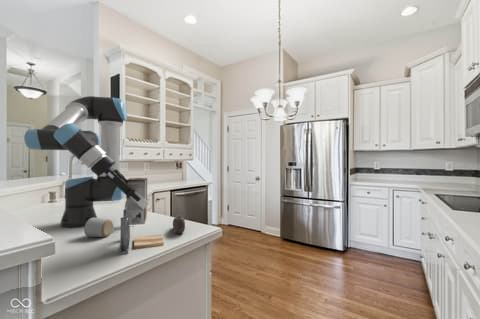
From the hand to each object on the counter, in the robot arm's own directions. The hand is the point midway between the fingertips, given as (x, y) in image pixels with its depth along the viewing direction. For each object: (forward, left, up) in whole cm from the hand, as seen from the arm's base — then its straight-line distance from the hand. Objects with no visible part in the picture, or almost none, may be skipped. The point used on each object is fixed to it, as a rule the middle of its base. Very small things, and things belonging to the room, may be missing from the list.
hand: (146, 203), depth 87 cm
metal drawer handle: (-1, -7, -15) cm, 17 cm away
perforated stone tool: (-12, +14, -15) cm, 24 cm away
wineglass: (-30, -6, -15) cm, 34 cm away
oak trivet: (-1, +1, -15) cm, 15 cm away
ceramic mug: (-19, -17, -15) cm, 30 cm away
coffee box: (0, -3, -7) cm, 7 cm away
